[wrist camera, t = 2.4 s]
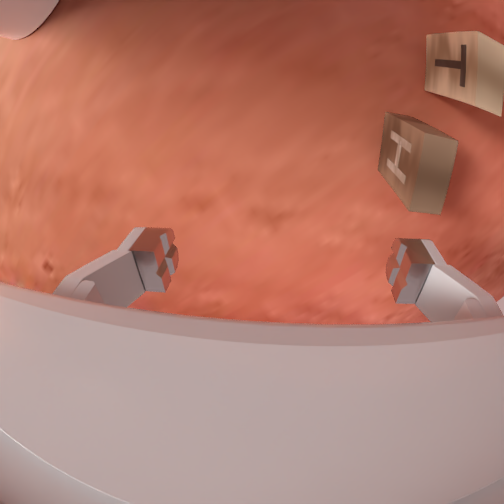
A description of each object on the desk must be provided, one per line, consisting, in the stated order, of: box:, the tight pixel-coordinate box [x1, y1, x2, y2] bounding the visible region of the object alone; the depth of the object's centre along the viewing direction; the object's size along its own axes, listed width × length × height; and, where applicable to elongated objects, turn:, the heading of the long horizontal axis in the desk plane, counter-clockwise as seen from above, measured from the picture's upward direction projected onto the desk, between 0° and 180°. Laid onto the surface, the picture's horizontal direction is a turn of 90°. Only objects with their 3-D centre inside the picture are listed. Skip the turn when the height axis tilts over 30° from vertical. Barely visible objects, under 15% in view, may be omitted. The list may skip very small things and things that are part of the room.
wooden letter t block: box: [424, 31, 504, 117], centre depth 14 cm, size 6×3×8 cm, turn 2°
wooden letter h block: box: [378, 112, 458, 215], centre depth 20 cm, size 6×3×8 cm, turn 2°
